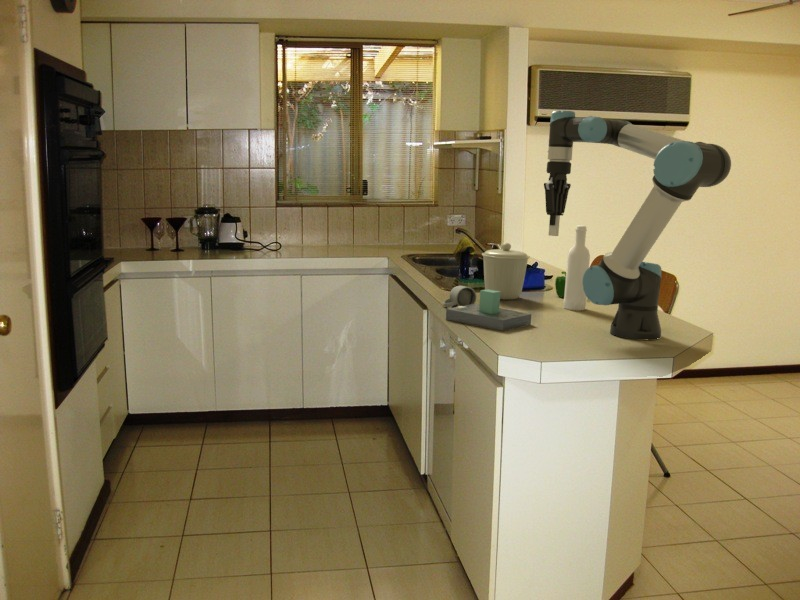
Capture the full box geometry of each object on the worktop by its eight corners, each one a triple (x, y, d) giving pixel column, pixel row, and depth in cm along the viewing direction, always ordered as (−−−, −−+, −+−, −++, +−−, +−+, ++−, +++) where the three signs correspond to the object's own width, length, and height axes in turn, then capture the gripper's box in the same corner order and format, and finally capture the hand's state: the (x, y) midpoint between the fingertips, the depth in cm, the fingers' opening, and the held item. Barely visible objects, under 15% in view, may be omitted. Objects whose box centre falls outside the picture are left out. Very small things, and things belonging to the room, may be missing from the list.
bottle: (570, 311, 280) (578, 226, 274) (558, 306, 287) (565, 224, 282) (589, 310, 283) (597, 227, 277) (577, 306, 290) (584, 224, 285)
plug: (498, 319, 252) (500, 291, 251) (491, 321, 249) (493, 292, 248) (485, 317, 256) (487, 289, 254) (478, 318, 253) (480, 290, 251)
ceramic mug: (466, 304, 283) (467, 283, 282) (476, 308, 276) (477, 287, 274) (439, 305, 279) (439, 284, 278) (448, 309, 272) (449, 287, 271)
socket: (530, 324, 252) (531, 311, 251) (502, 331, 240) (503, 317, 239) (474, 313, 266) (475, 301, 265) (445, 319, 254) (446, 306, 253)
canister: (527, 295, 308) (531, 242, 305) (526, 303, 291) (530, 246, 287) (480, 292, 311) (484, 239, 308) (477, 299, 294) (480, 243, 290)
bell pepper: (579, 299, 306) (581, 273, 305) (560, 299, 304) (562, 273, 303) (570, 295, 314) (572, 270, 313) (551, 295, 312) (553, 270, 311)
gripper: (559, 161, 255) (553, 233, 259) (538, 160, 246) (532, 235, 250) (580, 162, 251) (573, 236, 255) (559, 160, 241) (553, 237, 245)
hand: (553, 235), depth 252 cm, fingers closed
